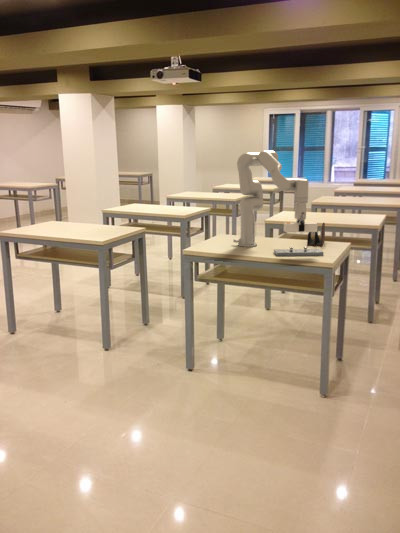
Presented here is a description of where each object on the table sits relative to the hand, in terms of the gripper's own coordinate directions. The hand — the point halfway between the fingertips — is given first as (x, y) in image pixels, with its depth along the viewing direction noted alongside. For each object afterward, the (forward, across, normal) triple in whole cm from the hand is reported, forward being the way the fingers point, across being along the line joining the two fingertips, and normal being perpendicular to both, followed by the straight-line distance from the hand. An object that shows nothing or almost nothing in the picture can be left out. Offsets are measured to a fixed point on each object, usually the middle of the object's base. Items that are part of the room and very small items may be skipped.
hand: (300, 230), depth 293 cm
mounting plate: (+15, 0, -1) cm, 15 cm away
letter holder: (+15, -34, +19) cm, 42 cm away
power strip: (+1, 0, 0) cm, 1 cm away
